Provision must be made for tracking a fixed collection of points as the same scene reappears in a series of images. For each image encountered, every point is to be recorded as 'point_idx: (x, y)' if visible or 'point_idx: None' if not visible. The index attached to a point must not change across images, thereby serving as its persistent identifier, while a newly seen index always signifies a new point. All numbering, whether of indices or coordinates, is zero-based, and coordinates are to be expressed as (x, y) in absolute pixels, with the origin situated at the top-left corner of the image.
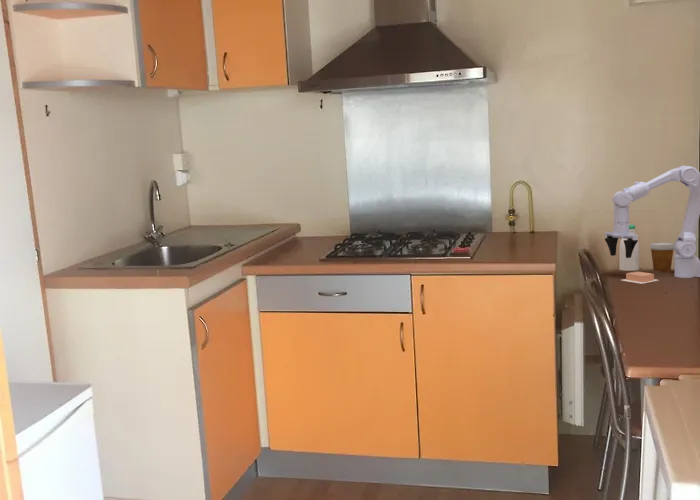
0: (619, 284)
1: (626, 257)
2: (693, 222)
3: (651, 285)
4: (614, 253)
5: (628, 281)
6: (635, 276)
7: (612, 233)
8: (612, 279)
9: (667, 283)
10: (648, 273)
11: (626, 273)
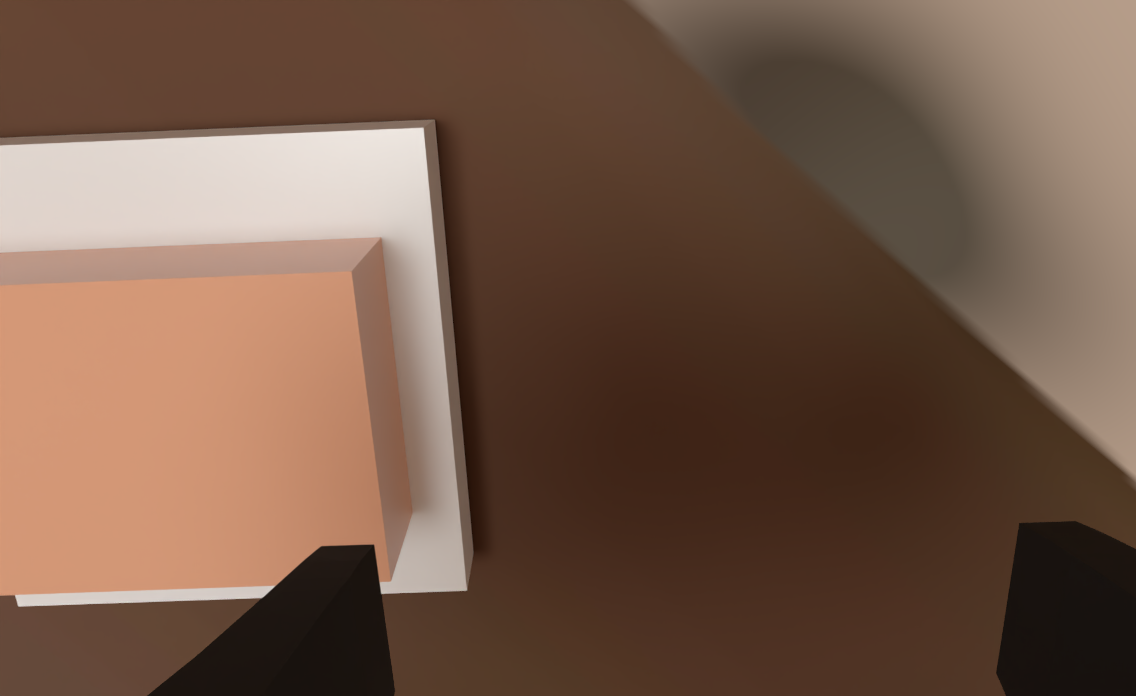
0: (409, 68)
1: (348, 548)
2: None
3: None
4: (1036, 678)
5: (211, 135)
6: (99, 272)
7: None
8: (838, 333)
9: (32, 666)
10: (69, 568)
11: (341, 273)
